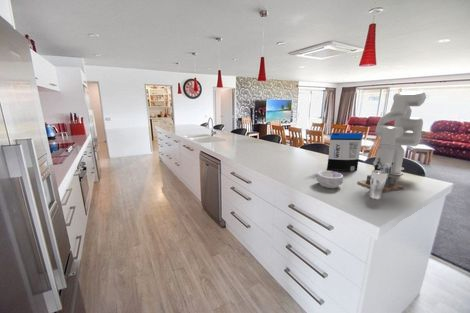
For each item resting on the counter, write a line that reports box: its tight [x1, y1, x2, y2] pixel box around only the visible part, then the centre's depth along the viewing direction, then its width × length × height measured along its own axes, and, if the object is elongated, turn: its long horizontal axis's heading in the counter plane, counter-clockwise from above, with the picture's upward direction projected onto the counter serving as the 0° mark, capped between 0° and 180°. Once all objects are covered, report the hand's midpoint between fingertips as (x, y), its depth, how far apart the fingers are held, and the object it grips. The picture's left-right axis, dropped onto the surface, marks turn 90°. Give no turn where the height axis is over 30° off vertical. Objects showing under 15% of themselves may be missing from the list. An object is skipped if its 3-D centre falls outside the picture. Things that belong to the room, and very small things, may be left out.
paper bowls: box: [316, 170, 344, 189], centre depth 134 cm, size 15×15×8 cm
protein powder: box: [326, 132, 363, 173], centre depth 166 cm, size 10×24×30 cm, turn 90°
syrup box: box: [378, 163, 391, 179], centre depth 134 cm, size 6×6×14 cm
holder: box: [357, 174, 405, 193], centre depth 135 cm, size 20×16×6 cm
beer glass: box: [368, 169, 387, 201], centre depth 116 cm, size 7×7×15 cm
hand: (381, 173), depth 134 cm, fingers open, 9 cm apart
